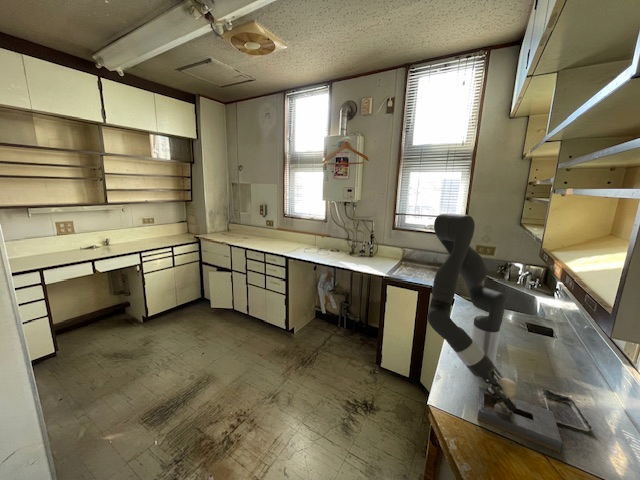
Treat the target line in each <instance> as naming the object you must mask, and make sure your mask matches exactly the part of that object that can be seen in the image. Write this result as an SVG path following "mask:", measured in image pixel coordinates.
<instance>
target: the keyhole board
mask: <svg viewBox="0 0 640 480" xmlns="http://www.w3.org/2000/svg"><path fill="white" fill-rule="evenodd" d="M495 404H498V403H497V401H496V400H495V399H494V398H493V397H492V396H491V395H490V394H489V393H488V392H487V391H486V387H482V386H478V392H477V413H476V415H477V416H476V417H477V421H479V422H481V423H484V424H487V425H489V426H492V427H495V428H497V429H499V430H502V431H504V432H507V433H510V434H511V435H515V436H518V437H519V438H522V439H525V440H527V441H529V442H532V443H535V444H536V445H540V446H542V447H545V448H547V449H550V450H552V451H555V452H557V453H561V450H562V445H563V440H562V438H561V434H560V432H559V428H558V425H557V424H558V423H557V422H556V421H555V420H556V418H555V414H554V411H552V410H550V409H549V410H547V408H543V407H541V406H538V405H534V404H531V403H528V402H526V401H523V400H520V399H517V398H515V401H514V405H515V406H516V410H513V413H512V412H510V416H507V415H505V414H502V413H499V412H497V411H494V406H495Z"/></svg>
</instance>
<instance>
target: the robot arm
mask: <svg viewBox="0 0 640 480" xmlns="http://www.w3.org/2000/svg"><path fill="white" fill-rule="evenodd" d="M475 226H476V224H475V220H474V218H473V217H472V216H470V215H468V214H461V213H453V212H452V213H451V212H450V213H449V212H447V213H440V214H438V216H436V217H435V220H434V223H433V229H434V232H435V233H434V234H435V236H436V237H437V239H438V240H439V242H440V243H441V244H442V245H443V247H444V248H445V250H446V251H447V253H448V254H449V256H448V257H447V259H446V260H445V261H444V262H443V263H442V265H441V266H440V267H439V268H438V269H437V271H436V272H435V276H434V279H433V284H432V289H431V290H432V291H431V300H430V304H429V308H428V313H427V317H426V318H427V322H428V324H429V326H430V327H431V328H432V329H433V331H435V333H437V334H438V336H440V337H441V338H442V339H444V340H445V341H446V342H447V344H448V345H449V346H450V347H451V348H452V350H453V351H454V353H455V354H456V355H457V357H458V358H459V359H460V360H461V362H462V363H463V364H464V366H465V367H466V368H467V369H468V371H469V372H471V373H472V375H473V376H474V377H477V378H478V377H479V378H481V379H482V381H483V382H484V384H485V385H487V387H485V389H486V391H487V392H488V393H489V394H490V395H491V396H492V397H493V398H494V399H495V400H496V401H497V402H499V403H500V402H503V403H504V404H505V405H506V407H507V408H508V409H509V410H510V411H513V410H516V406H515V405H514V403H513V402H512V401H511V400H510V399H509V398H508V396H507V395H506V394H505V392H504V391H503V387H502V385H501V384H500V379H501V378H504V377H503V375H502V374H501V373H500V371H499V370H498V369H497V367H496V360H497V354H498V346H499V339H500V338H499V337H500V332H501V331H500V330H501V326H502V323H503V318H504V313H505V309H506V304H507V298H506V295H505V294H504V293H502V292H500V291H497V290H494V289H491V288H487V287H485V286H484V285H483V282H484V281H485V279H486V277H487V275H488V269H487V266H486V264H485V261H484V259H483V257H482V255H480V254H479V252H478V251H477V250H475V249H474V248H473V247H471V242H472V240H473V237H474V232H475V228H476V227H475ZM459 276H460V278H462V281H463V283H464V285H465V287H466V290H467V293H468V295H469V298H470V302H471V303H472V305H473V306H474V307H475V308H477V309H478V310H481V311H483V312H487V313H488V315H477V316H475V317H474V319H473V325H472V334H471V336H470V335H469V333H467V332H466V331H465V329H463V328H462V327H460V326H458V325H457V324H456V323H455V322H454V321H453V319H452V318H451V311H452V310H451V309H452V303H453V300H454V298H455V295H456V294H455V293H456V289H457V283H458V278H459Z"/></svg>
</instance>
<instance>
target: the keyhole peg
mask: <svg viewBox="0 0 640 480" xmlns="http://www.w3.org/2000/svg"><path fill="white" fill-rule="evenodd" d="M500 384H501V385H502V387H503V391H504V392H505V394H506V395H507V396H508V398H509V399H510V400H511V401H512V402H513V403H514V401H515V399H516V395H517V389H518V388H517V387H518V385H517V383H516V382H515V381H513V380H511V379H509V378H507V377H503V378H501V379H500ZM497 403H498V404H495V406H494V411H497V412H499V413H502V414H505V415H507V416H510V412H512V413H513V411H510V410H509V409H508V408H507V407H506V405H505V404H504V403H503V402H500V403H499V402H497Z"/></svg>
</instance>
